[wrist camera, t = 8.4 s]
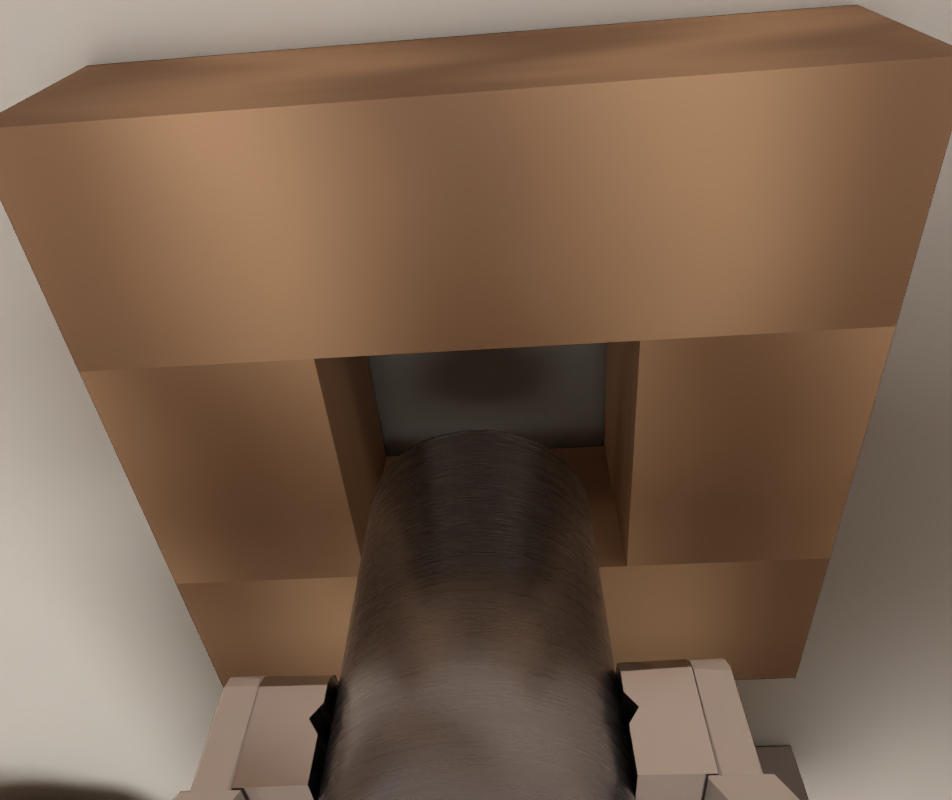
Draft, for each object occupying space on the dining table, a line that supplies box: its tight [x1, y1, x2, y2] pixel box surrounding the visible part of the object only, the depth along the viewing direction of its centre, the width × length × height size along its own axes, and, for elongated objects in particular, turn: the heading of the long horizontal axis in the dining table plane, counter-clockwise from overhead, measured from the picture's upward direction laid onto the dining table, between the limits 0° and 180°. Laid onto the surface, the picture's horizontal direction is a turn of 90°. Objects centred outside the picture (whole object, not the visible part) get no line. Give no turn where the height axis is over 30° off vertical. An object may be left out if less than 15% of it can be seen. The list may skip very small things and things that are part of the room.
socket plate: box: [0, 5, 952, 688], centre depth 16 cm, size 14×14×4 cm
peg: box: [318, 430, 635, 800], centre depth 10 cm, size 4×4×10 cm
